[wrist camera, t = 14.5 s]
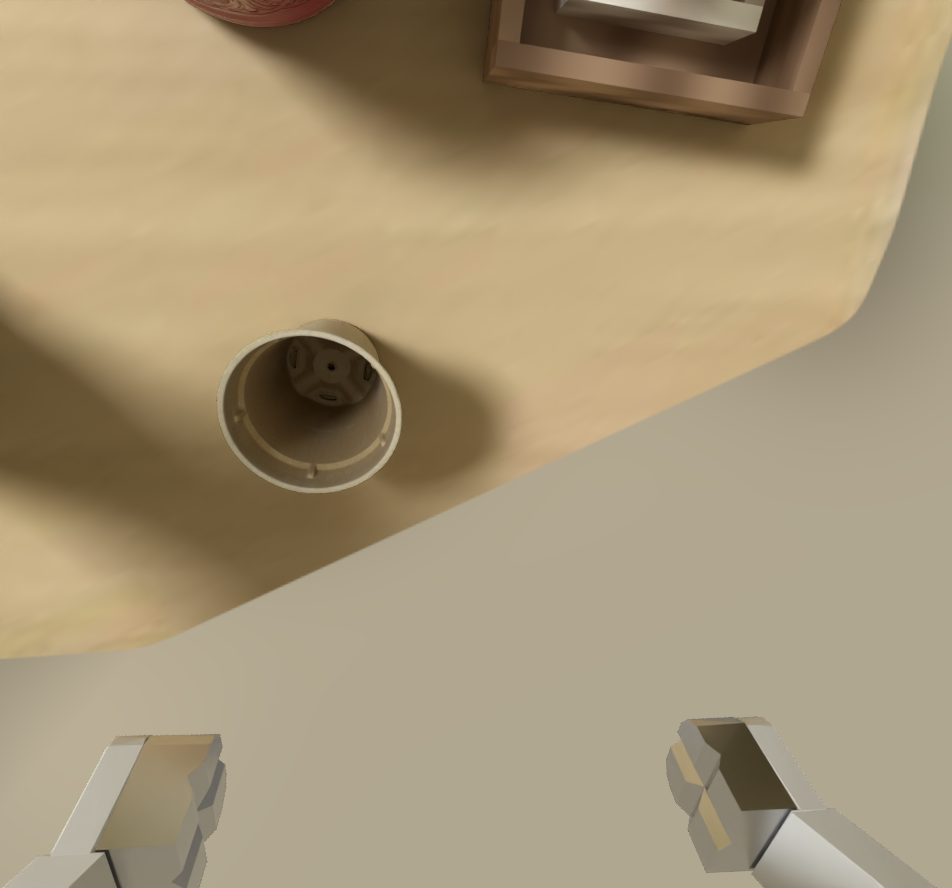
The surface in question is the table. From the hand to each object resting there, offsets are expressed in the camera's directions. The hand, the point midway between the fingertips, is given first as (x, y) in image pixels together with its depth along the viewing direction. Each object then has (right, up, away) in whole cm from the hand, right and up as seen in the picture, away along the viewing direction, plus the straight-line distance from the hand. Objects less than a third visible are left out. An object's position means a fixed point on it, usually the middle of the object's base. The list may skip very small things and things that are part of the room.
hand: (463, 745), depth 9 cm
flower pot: (-9, +11, +26) cm, 30 cm away
